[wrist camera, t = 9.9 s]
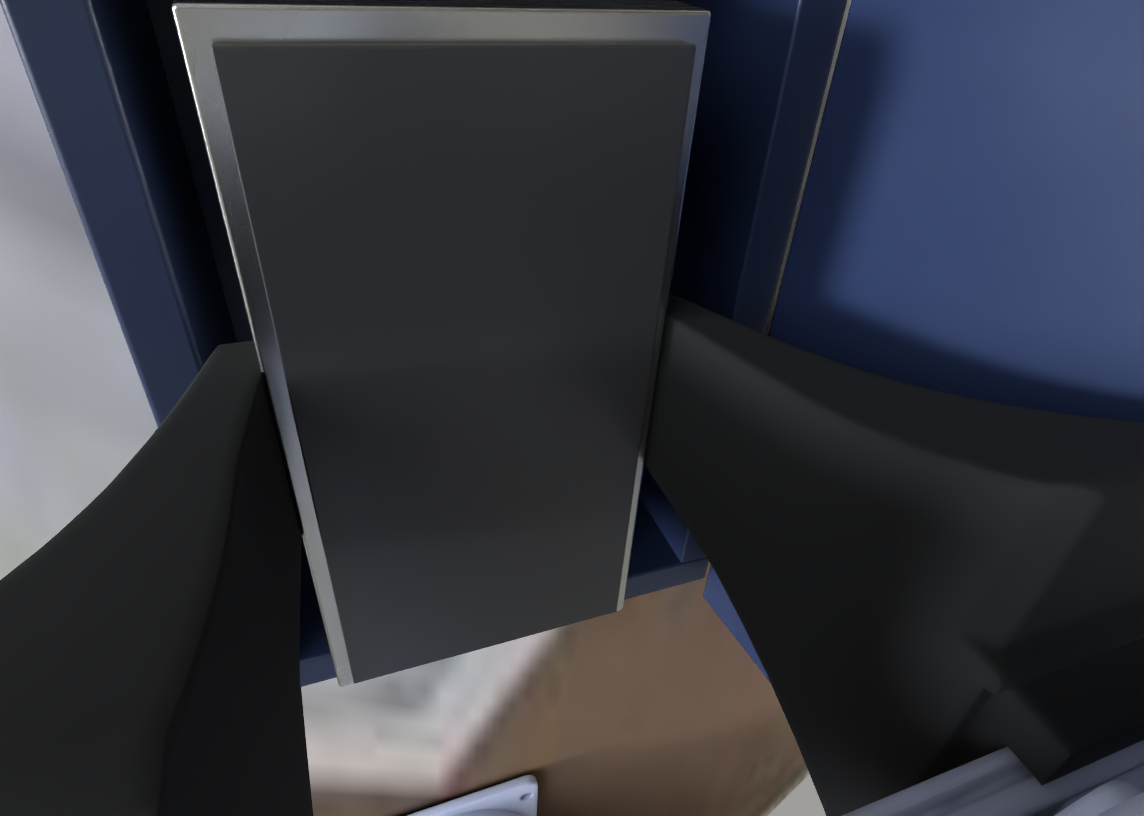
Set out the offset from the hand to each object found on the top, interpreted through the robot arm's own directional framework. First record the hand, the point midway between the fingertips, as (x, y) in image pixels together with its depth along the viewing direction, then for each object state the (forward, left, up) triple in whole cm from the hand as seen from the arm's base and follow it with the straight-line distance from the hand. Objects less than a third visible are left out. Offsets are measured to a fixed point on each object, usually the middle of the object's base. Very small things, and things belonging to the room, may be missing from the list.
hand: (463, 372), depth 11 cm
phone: (0, 0, -1) cm, 1 cm away
